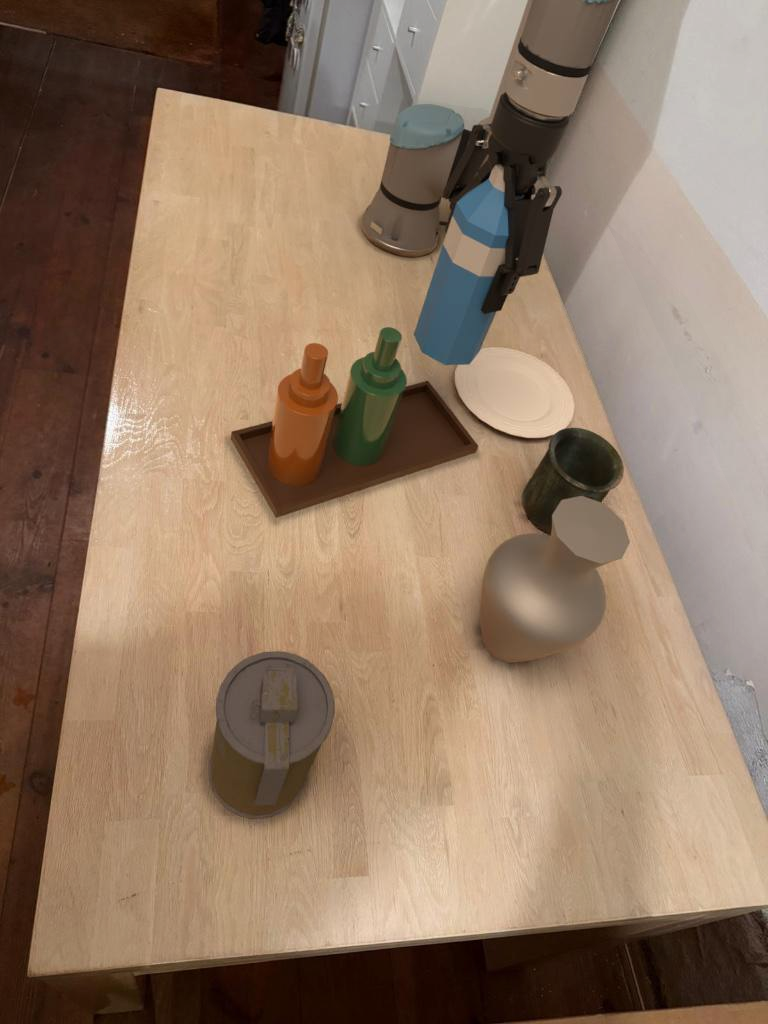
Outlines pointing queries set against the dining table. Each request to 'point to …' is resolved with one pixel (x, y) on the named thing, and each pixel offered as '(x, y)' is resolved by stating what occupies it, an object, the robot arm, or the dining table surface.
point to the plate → (515, 393)
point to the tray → (410, 448)
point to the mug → (571, 474)
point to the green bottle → (370, 402)
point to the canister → (268, 732)
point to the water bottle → (465, 275)
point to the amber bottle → (302, 420)
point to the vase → (550, 583)
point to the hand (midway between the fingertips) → (468, 285)
